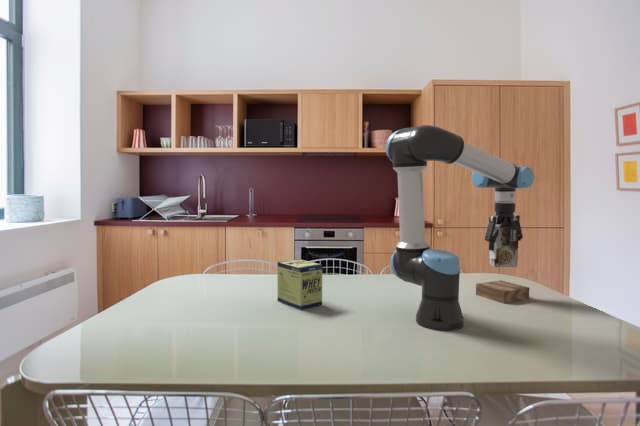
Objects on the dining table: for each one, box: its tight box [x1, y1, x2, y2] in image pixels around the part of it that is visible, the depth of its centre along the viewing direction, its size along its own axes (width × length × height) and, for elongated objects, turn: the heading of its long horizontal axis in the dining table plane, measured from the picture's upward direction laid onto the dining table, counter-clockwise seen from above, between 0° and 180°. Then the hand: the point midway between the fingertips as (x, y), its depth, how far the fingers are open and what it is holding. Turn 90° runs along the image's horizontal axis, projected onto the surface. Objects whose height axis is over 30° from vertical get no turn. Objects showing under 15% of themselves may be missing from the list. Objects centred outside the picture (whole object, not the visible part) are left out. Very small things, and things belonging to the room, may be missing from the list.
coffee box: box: [489, 226, 519, 268], centre depth 174 cm, size 9×6×16 cm
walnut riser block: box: [475, 280, 530, 304], centre depth 175 cm, size 14×14×5 cm
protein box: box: [277, 258, 323, 311], centre depth 166 cm, size 10×16×16 cm
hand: (503, 257), depth 174 cm, fingers closed on coffee box, 10 cm apart
